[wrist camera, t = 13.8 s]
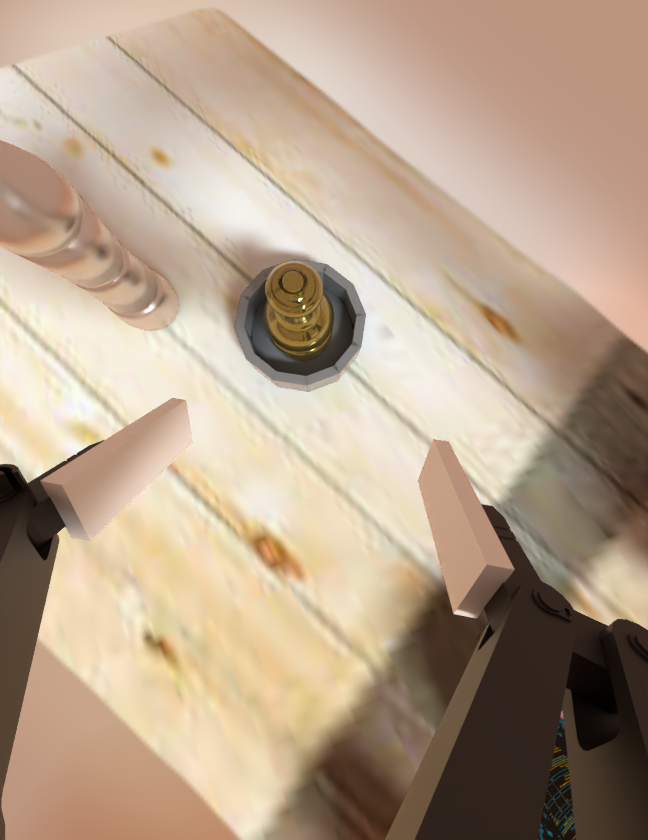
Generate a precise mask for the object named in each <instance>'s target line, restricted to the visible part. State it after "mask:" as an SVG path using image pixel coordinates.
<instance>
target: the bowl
mask: <svg viewBox="0 0 648 840" xmlns="http://www.w3.org/2000/svg"><path fill="white" fill-rule="evenodd" d="M290 261H297V262H302V263H305V264H307V265H309V266H311V267H312V268H313V269H314V270H315V271H316V272H317V273H318V275H319V276H320V278H321V281H322V285H323V291H324V292H325V294H326V295H327V296H328V297H329V299H330V301H331V303H332V306H333V309H334V324H333V332H332V337H331V340H330V343H329V345H328V347H327V348H326V350H325V351H324V352H323V353H322V354H321V355H319V356H318V357H316V358H314V359H311V360H307V361H295V360H291V359H289V358H287V357H285V356H283V355H282V354H281V353H280V352H279V351H278V350H277V349H276V348H275V346H274V344H273V343H272V341H271V340H270V337H269V335H268V333H267V331H266V329H265V326H264V323H263V309H264V305H265V302H266V300H267V298H266V293H265V285H266V280H267V278H268V276H269V274H270V273H271V271H272V270H273V269H274V268H276V267H277V266H278V265H276V266H273V267H270V268H267V269H264V270H262V271H261V273H260V274H259V275H258V276H257V277H256V278H255V279H254V280H253V282H252V283H251V284H250V285H249V286H248V287H247V288H246V290H245V291H244V292H243V293H242V294H241V296H240V301H239V306H238V312H237V317H236V322H235V330H236V333H237V336H238V338H239V341H240V344H241V346H242V349H243V352H244V354H245V357H246V359H247V360H248V361H249V362H250V364H251V365H252V366H253V367H254V368H255V369H256V370H258V371H259V372H260V373H261V374H262V375H264V376H265V377H266V378H267V379H269V380H270V381H271V382H272V383H274V384H275V385H276V386H277V387H281V388H287V389H294V390H300V391H307V392H310V391H312V390H315V389H318V388H320V387H323V386H325V385H328V384H331V383H333V382H336V381H338V380H339V379H340V377H341V376H342V375H343V374H344V372H345V371H346V370H347V369H348V368H349V366H350V365H351V364H352V363H353V361H354V360H355V359H356V358H357V356H358V353H359V351H360V348H361V344H362V338H363V331H364V324H365V317H366V314H365V311H364V309H363V306H362V304H361V302H360V299H359V297H358V294H357V292H356V289H355V287H354V285H353V284H352V283H351V282H350V281H348V280H347V279H346V278H345V277H343V276H342V275H341V274H339V273H338V272H337V271H335V270H334V269H333V268H332V267H330V266H329V265H328V264H323V263H317V262H310V261H304V260H298V259H293V260H290ZM290 261H287V262H290ZM284 263H285V262H284ZM281 264H282V263H281ZM279 265H280V264H279ZM352 328H353V331H352ZM259 357H260V358H259Z"/></svg>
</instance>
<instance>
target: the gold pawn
mask: <svg viewBox="0 0 648 840" xmlns="http://www.w3.org/2000/svg"><path fill="white" fill-rule="evenodd" d="M265 293H266V298H267V300H266V302H265V305H264V309H263V323H264V326H265V329H266V331H267V333H268V335H269V337H270V340H271V341H272V343H273V344H274V346H275V348H276V349H277V350H278V351H279V352H280V353H281V354H282V355H283V356H285V357H287V358H289V359H291V360H295V361H307V360H311V359H314V358H316V357H318V356H319V355H321V354H322V353H323V352H324V351H325V350H326V348H327V347H328V345H329V343H330V340H331V337H332V332H333V324H334V309H333V306H332V303H331V301H330V299H329V297H328V296H327V295H326V294H325V292H324V291H323V285H322V281H321V278H320V276H319V275H318V273H317V272H316V271H315V270H314V269H313V268H312V267H311V266H309V265H307V264H305V263H302V262H297V261H290V262H285V263H282V264H280V265H278V266H277V267H276V268H274V269H273V270H272V271H271V273H270V274H269V276H268V278H267V280H266V285H265Z"/></svg>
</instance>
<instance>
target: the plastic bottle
mask: <svg viewBox="0 0 648 840" xmlns="http://www.w3.org/2000/svg"><path fill="white" fill-rule="evenodd" d="M0 246H1V247H3V248H5V249H7V250H9V251H11V252H13V253H15V254H17V255H19V256H21V257H23V258H25V259H27V260H30V261H32V262H34V263H36V264H38V265H40V266H42V267H44V268H46V269H48V270H50V271H52V272H54V273H56V274H58V275H60V276H61V277H63V278H65V279H67V280H68V281H70V282H72V283H74V284H76V285H77V286H79V287H80V288H82V289H84V290H86V291H87V292H89V293H90V294H91V295H93V296H94V297H95V298H97V299H98V300H99V301H101V302H102V303H103V304H105V305H106V306H107V307H108V308H109V309H110V310H111V311H112V312H113V313H114V314H115V315H116V316H118V317H119V318H120V319H121V320H123V321H124V322H125V323H127V324H129V325H131V326H133V327H136V328H139V329H141V330H146V331H154V330H159V329H162V328H165V327H166V326H168V325H169V324H171V323H172V322H173V320H174V319H175V317H176V315H177V313H178V306H179V303H178V298H177V295H176V293H175V291H174V290H173V288H172V287H171V285H170V284H169V283H168V281H167V280H166V279H164V278H163V277H162V276H160V275H159V274H158V273H156V272H155V271H154V270H152V269H150V268H149V267H147V266H146V265H145V264H143V263H142V262H141V261H140V260H139V259H137V258H136V257H135V256H134V255H133V254H131V253H130V252H129V251H128V250H127V249H125V247H124V246H123V245H122V244H121V243H120V242H119V241H118V240H117V239H116V238H115V237H114V236H113V235H112V234H111V232H110V231H109V230H108V229H107V228H106V227H105V226H104V225H103V224H102V222H101V221H100V220H99V219H98V217H97V216H96V215H95V214H94V212H93V211H92V210H91V209H90V207H89V206H88V205H87V204H86V202H85V201H84V200H83V199H82V197H81V196H80V195H79V194H78V193H77V191H76V190H75V189H74V187H73V186H72V185H71V184H70V183H69V182H68V181H67V180H66V178H65V177H64V176H63V175H62V174H61V173H60V172H59V171H58V170H56V169H55V168H53V167H52V166H51V165H49V164H48V163H46V162H45V161H43V160H42V159H40V158H39V157H37V156H36V155H34V154H31V153H29V152H27V151H25V150H22V149H20V148H18V147H16V146H14V145H11V144H9V143H6V142H4V141H1V140H0Z"/></svg>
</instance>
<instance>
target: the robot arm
mask: <svg viewBox="0 0 648 840" xmlns="http://www.w3.org/2000/svg"><path fill="white" fill-rule="evenodd" d="M192 443H193V440H192V434H191V428H190V422H189V416H188V410H187V404H186V400H182V399H175V398H172V399H170V400H168V401H167V402H165V403H164V404H162V405H160V406H159V407H157V408H156V409H154V410H152V411H151V412H149V413H148V414H146V415H144V416H143V417H141V418H140V419H138V420H136V421H135V422H133V423H132V424H130V425H128V426H127V427H125V428H124V429H122V430H120V431H119V432H117V433H116V434H114V435H112V436H111V437H109V438H108V439H106V440H103V441H100V442H98V443H95V444H93V445H90V446H88V447H86V448H85V449H83V450H82V451H80V452H78V453H77V455H73V456H72V457H70V458H68V459H67V461H63V462H62V463H60V464H59V465H57V466H55V467H54V468H52V469H50V470H49V471H47V472H45V473H44V474H42V475H41V476H39V477H37V478H36V479H34V480H32V481H31V482H29V483H27V482H26V480H25V479H24V477H23V475H22V474H21V472H20V470H19V469H18V467H16V466H15V465H11V464H1V465H0V840H5V822H4V818H3V814H2V809H1V798H2V792H3V787H4V782H5V778H6V773H7V769H8V765H9V760H10V756H11V752H12V747H13V743H14V738H15V734H16V730H17V725H18V721H19V716H20V712H21V707H22V703H23V699H24V694H25V690H26V685H27V681H28V676H29V672H30V668H31V663H32V659H33V655H34V650H35V646H36V641H37V637H38V633H39V628H40V624H41V619H42V615H43V610H44V606H45V602H46V597H47V593H48V588H49V584H50V580H51V575H52V571H53V566H54V562H55V558H56V553H57V549H58V544H59V536H58V535H57V533H58V532H59V531H60V530H61V529H63V528H64V527H66V529H67V530H68V532H69V534H70V536H71V537H73V538H78V539H83V540H88V541H91V540H92V539H93V538H94V537H95V536H96V535H97V534H98V533H99V532H100V531H101V530H102V529H104V528H105V527H106V526H107V525H108V524H109V523H110V522H111V521H112V520H113V519H114V518H115V517H116V516H117V515H118V514H119V513H120V512H121V511H122V510H123V509H124V508H125V507H126V506H127V505H128V504H130V503H131V502H132V501H133V500H134V499H135V498H136V497H137V496H138V495H139V494H140V493H141V492H142V491H143V490H144V489H145V488H146V487H147V486H148V485H149V484H150V483H151V482H152V481H153V480H154V479H156V478H157V477H158V476H159V475H160V474H161V473H162V472H163V471H164V470H165V469H166V468H167V467H168V466H169V465H170V464H171V463H172V462H173V461H174V460H175V459H176V458H177V457H178V456H179V455H180V454H182V453H183V452H184V451H185V450H186V449H187V448H188V447H189V446H190V445H191V444H192ZM418 482H419V486H420V490H421V494H422V497H423V501H424V505H425V509H426V512H427V516H428V520H429V524H430V527H431V531H432V535H433V539H434V542H435V546H436V550H437V554H438V558H439V561H440V565H441V569H442V573H443V576H444V580H445V584H446V588H447V591H448V595H449V599H450V603H451V606H452V610H453V614H456V615H461V616H466V617H471V618H476V619H477V618H478V617H479V615H480V614H481V613H482V611H483V610H485V612H486V615H487V618H488V621H489V624H488V625H487V626H486V627H485V628H484V630H483V631H482V632H481V633H480V634H479V636H478V637H477V639H478V640H479V642H478V644H477V646H476V648H475V650H474V652H473V655H472V657H471V659H470V661H469V663H468V665H467V667H466V669H465V671H464V674H463V676H462V678H461V680H460V682H459V684H458V686H457V688H456V690H455V693H454V695H453V697H452V699H451V701H450V703H449V705H448V707H447V709H446V712H445V714H444V716H443V718H442V720H441V722H440V724H439V726H438V728H437V730H436V733H435V735H434V737H433V739H432V741H431V743H430V745H429V747H428V749H427V752H426V754H425V756H424V758H423V760H422V762H421V764H420V766H419V768H418V771H417V773H416V775H415V777H414V779H413V781H412V783H411V785H410V787H409V790H408V792H407V794H406V796H405V798H404V800H403V802H402V804H401V806H400V809H399V811H398V813H397V815H396V817H395V819H394V821H393V823H392V825H391V828H390V830H389V832H388V834H387V836H386V838H385V840H538V835H539V829H540V824H541V819H542V813H543V808H544V802H545V797H546V792H547V786H548V781H549V775H550V770H551V765H552V759H553V754H554V748H555V743H556V738H557V732H558V727H559V721H560V716H561V711H562V707H563V717H564V727H565V736H566V746H567V755H568V765H569V774H570V784H571V794H572V803H573V813H574V822H575V832H576V840H648V630H647V629H645V628H643V627H642V626H640V625H639V624H636V623H634V622H631V621H629V620H624V619H617V620H616V621H614V622H613V623H612V624H610V625H609V626H607V625H605V624H603V623H600V622H598V621H596V620H594V619H592V618H590V617H588V616H585V615H583V614H581V613H579V612H577V611H575V610H573V608H572V606H571V605H570V603H569V602H568V601H567V600H566V599H565V598H564V597H563V595H561V594H560V593H559V592H558V591H556V590H555V589H554V588H553V587H551V586H549V585H547V584H546V583H544V582H542V581H541V580H540V578H539V577H538V575H537V573H536V572H535V570H534V568H533V566H532V565H531V563H530V561H529V560H528V558H527V556H526V554H525V553H524V551H523V549H522V548H521V546H520V544H519V542H517V541H516V540H517V539H516V537H515V536H514V534H513V532H511V529H510V527H509V525H508V524H507V522H506V520H505V518H504V517H503V516H502V515H501V514H500V513H499V512H498V511H497V510H496V509H495V508H494V507H493V506H488V505H483V504H481V503H480V501H479V499H478V498H477V496H476V494H475V492H474V490H473V488H472V486H471V484H470V482H469V480H468V478H467V476H466V474H465V472H464V470H463V469H462V467H461V465H460V463H459V461H458V459H457V457H456V455H455V453H454V451H453V449H452V447H451V445H450V443H449V442H447V441H441V440H434V439H433V441H432V444H431V447H430V449H429V452H428V455H427V458H426V460H425V463H424V466H423V468H422V471H421V474H420V477H419V479H418Z"/></svg>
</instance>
